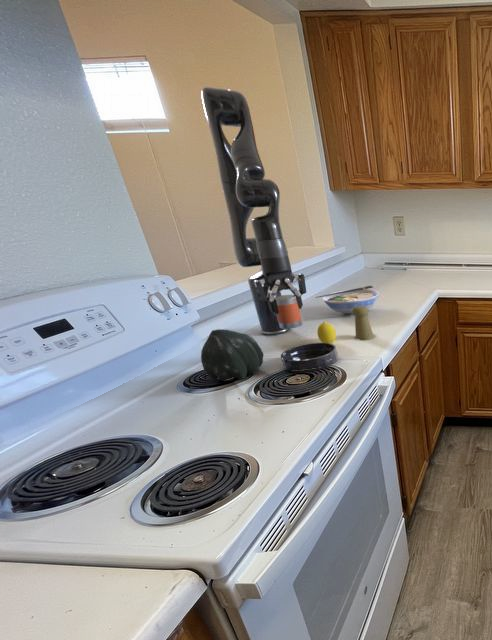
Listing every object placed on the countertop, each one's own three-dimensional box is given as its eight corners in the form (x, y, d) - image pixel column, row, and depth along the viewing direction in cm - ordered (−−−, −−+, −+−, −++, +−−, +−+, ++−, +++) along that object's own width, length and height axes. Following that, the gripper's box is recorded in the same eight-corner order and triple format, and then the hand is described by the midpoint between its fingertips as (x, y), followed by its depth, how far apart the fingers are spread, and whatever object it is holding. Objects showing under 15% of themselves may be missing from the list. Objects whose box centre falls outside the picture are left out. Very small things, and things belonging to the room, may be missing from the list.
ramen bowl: (335, 324, 161) (331, 303, 158) (315, 313, 177) (310, 294, 173) (393, 311, 176) (391, 292, 172) (369, 302, 192) (367, 284, 188)
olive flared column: (368, 340, 142) (363, 309, 137) (352, 339, 143) (346, 308, 139) (376, 334, 147) (371, 304, 143) (361, 334, 148) (355, 303, 144)
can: (276, 326, 129) (269, 297, 126) (297, 321, 134) (291, 293, 130) (284, 330, 125) (277, 300, 121) (306, 325, 129) (299, 296, 126)
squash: (272, 343, 125) (222, 312, 116) (273, 361, 113) (218, 328, 104) (241, 378, 125) (189, 350, 116) (239, 400, 113) (180, 371, 104)
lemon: (321, 349, 135) (316, 325, 132) (319, 344, 140) (314, 321, 137) (339, 346, 138) (334, 322, 134) (336, 341, 142) (332, 318, 139)
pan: (276, 364, 124) (272, 352, 122) (325, 351, 134) (322, 339, 132) (296, 378, 114) (292, 365, 113) (347, 362, 124) (344, 350, 122)
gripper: (293, 251, 128) (305, 304, 134) (242, 257, 118) (258, 314, 125) (303, 253, 123) (315, 308, 130) (251, 259, 114) (267, 318, 120)
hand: (287, 310), depth 127 cm, fingers closed on can, 6 cm apart
